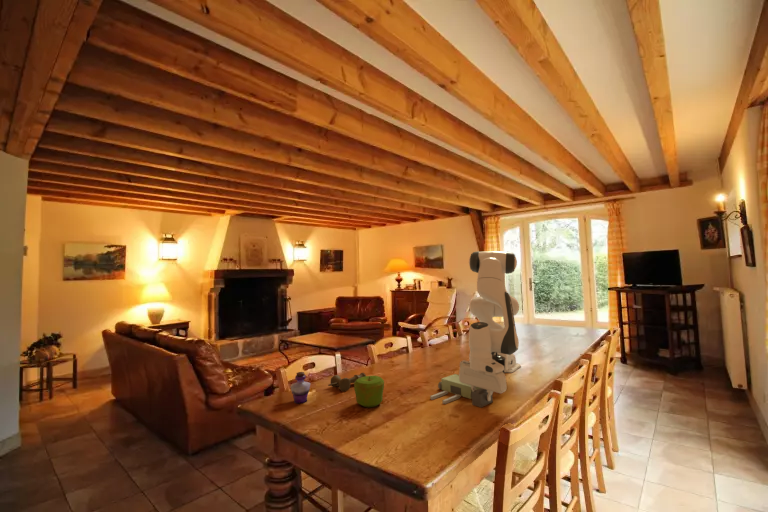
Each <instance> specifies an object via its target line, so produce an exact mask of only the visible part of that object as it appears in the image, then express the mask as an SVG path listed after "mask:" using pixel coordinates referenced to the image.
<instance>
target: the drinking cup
mask: <svg viewBox="0 0 768 512" xmlns="http://www.w3.org/2000/svg"><path fill="white" fill-rule="evenodd" d="M492 359H493V360H495V361H496V362H498V363H500V364H502V365H503V366H504V370H505V359H506V358H505V357H503V356H501V355H498V354H497V352H496V354H494V355H492ZM504 370H503V371H502V372H503V373H504V374H505V372H504Z"/></svg>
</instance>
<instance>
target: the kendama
mask: <svg viewBox="0 0 768 512" xmlns="http://www.w3.org/2000/svg"><path fill="white" fill-rule="evenodd" d="M365 376H367V375H366V374H365V373H364V372H360V374H354V375H353V376H352V377H350V378H348V377H344V378H341V375H339V374H335V375H333V376H332V377H331V378H330V383H329V384H328V385H327V386H328V387H330V386H331V387H332V388H338V387H339V390H340V392H347V391H349V389H350V387H351V384H354V382H355V381H356V380H357V379H358V378H361V377H365Z"/></svg>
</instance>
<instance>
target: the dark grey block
mask: <svg viewBox="0 0 768 512" xmlns="http://www.w3.org/2000/svg"><path fill="white" fill-rule="evenodd" d="M487 395H488V392H487V390H486V389H482V388H480V389H478V390H475V391H473V392H472V399H471V401H472V402H471V403H472V406H476V407H479V408H483V407H485V406H488V405H489V404H492V403H493V402H494V401H493V400H494V398H493V394H492V395H491V401H486V400H485V396H487Z"/></svg>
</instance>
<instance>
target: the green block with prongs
mask: <svg viewBox="0 0 768 512" xmlns="http://www.w3.org/2000/svg"><path fill="white" fill-rule="evenodd" d="M437 387H438V388H437V389H440V390H441V391H440V392H438V393H435V394H433V395H429V398H430V400H432V401H433V400H436V399H438V398H441V397H443V396H446V395H448V394H449V393H450V394H454V395H452V396H450V397H448V398H444V399H443V400H442V404H444V405H447V404H448V403H451V402H453V401H457V400H458V399H461V397H463V398H466V399H470V400H472V392H473V391H472V389H471V385H468V384H465V383H461V382H460V380H459V374H456V373H454V374H452V375H451V374H450V375H448V376H445V377H442V378H441V379H440V381H439V382H438V384H437ZM478 389H480V388H479V387H476V390H478Z"/></svg>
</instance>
